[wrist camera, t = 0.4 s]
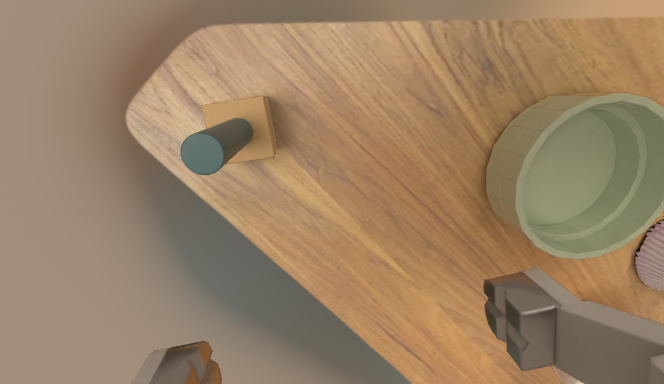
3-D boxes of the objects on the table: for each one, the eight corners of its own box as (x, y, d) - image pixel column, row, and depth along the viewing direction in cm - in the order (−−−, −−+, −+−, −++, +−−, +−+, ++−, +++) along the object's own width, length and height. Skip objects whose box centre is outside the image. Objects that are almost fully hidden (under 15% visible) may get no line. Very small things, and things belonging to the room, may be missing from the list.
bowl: (482, 105, 32) (519, 108, 27) (631, 82, 33) (699, 81, 27) (481, 242, 37) (513, 270, 32) (612, 221, 38) (666, 245, 32)
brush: (213, 103, 31) (141, 114, 17) (268, 95, 31) (237, 100, 17) (226, 157, 32) (169, 204, 19) (278, 149, 32) (258, 191, 19)
